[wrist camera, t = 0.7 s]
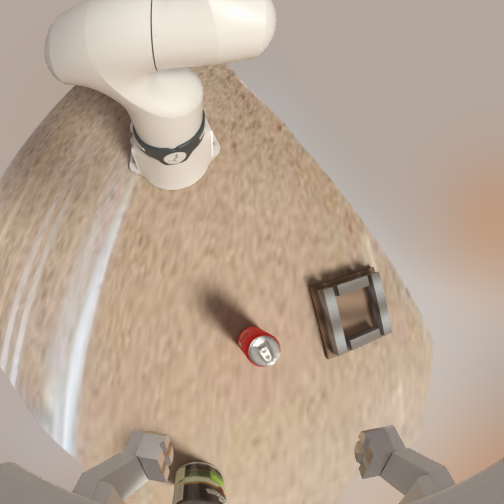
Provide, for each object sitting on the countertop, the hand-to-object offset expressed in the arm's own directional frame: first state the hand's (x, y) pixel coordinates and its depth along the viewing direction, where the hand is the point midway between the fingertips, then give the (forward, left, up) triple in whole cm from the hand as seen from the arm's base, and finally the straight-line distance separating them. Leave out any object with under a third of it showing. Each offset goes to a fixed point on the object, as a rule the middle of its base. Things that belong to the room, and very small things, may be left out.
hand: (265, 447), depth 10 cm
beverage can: (+3, +6, -43) cm, 43 cm away
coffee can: (+31, -13, -43) cm, 54 cm away
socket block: (+4, +27, -42) cm, 50 cm away
